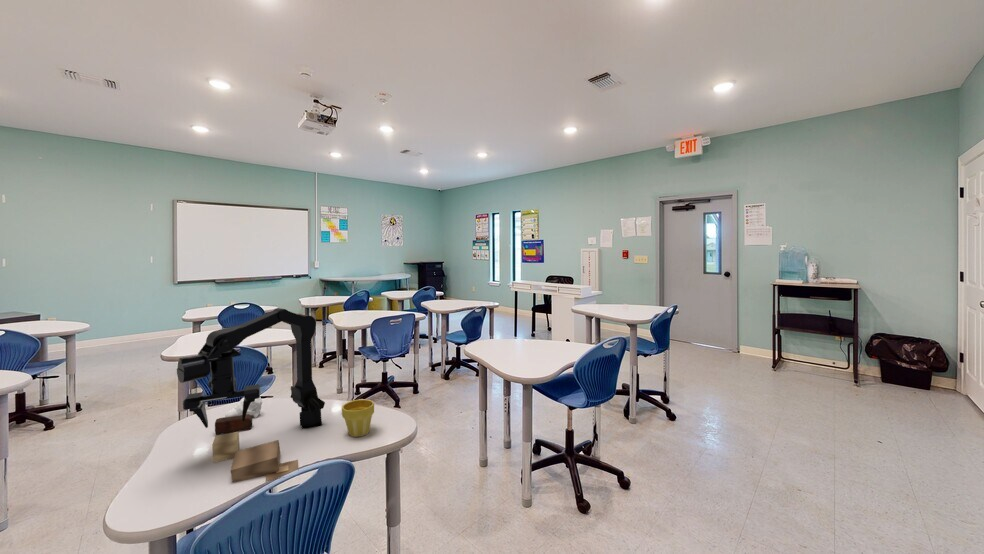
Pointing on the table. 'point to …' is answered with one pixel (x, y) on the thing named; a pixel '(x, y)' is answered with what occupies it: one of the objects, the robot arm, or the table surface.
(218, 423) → the brick
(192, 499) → the table surface
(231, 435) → the oak cube
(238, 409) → the white lumpy chunk
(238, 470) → the tan flat square block
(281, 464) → the swatch
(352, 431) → the plant pot
